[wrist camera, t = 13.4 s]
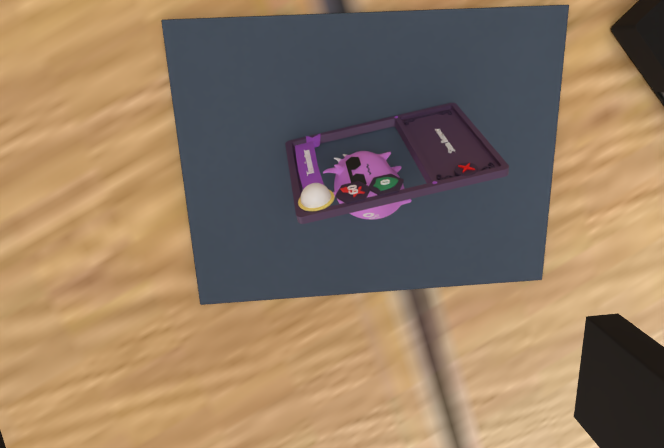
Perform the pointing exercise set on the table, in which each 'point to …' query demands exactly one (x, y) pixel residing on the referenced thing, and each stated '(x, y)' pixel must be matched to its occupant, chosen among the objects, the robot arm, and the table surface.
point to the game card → (382, 180)
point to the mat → (362, 145)
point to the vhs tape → (645, 41)
